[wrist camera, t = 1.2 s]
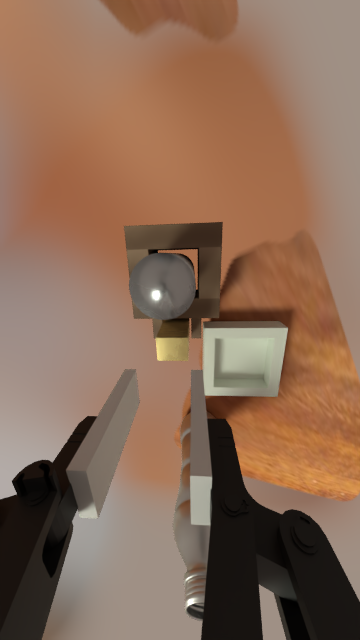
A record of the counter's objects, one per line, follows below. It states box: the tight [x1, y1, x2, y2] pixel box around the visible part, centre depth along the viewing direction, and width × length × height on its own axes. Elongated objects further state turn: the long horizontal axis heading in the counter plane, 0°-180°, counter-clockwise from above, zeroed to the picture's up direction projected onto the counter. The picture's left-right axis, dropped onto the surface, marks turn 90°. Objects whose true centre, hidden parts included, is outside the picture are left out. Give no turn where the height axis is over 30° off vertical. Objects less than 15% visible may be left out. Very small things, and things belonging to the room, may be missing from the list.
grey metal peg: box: [129, 253, 196, 320], centre depth 20 cm, size 4×4×15 cm
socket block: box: [124, 222, 222, 338], centre depth 25 cm, size 13×10×6 cm
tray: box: [203, 321, 288, 397], centre depth 29 cm, size 11×11×3 cm
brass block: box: [156, 318, 189, 361], centre depth 22 cm, size 2×3×8 cm
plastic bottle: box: [173, 411, 216, 621], centre depth 26 cm, size 6×7×20 cm
